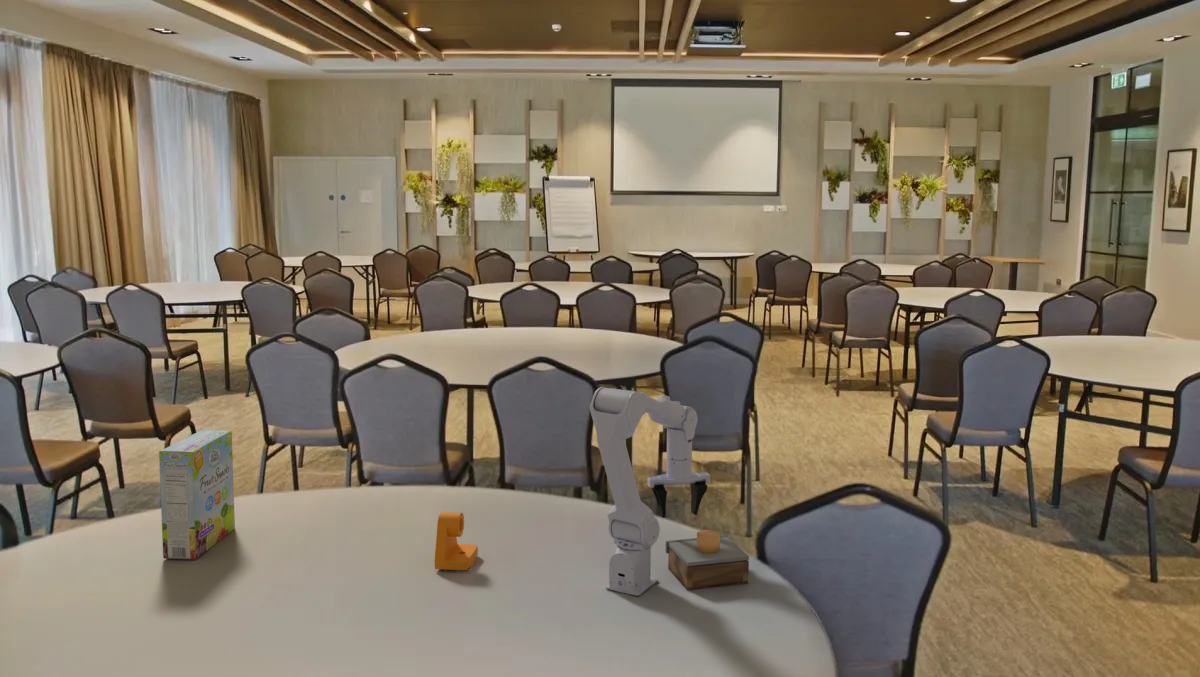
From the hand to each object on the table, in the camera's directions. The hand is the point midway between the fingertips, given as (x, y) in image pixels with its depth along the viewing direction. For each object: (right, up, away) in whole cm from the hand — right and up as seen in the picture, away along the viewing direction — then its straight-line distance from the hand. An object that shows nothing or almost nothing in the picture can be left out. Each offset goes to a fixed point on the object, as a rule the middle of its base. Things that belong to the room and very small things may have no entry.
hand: (678, 514), depth 209 cm
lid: (+5, -8, -9) cm, 13 cm away
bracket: (-50, -11, -2) cm, 52 cm away
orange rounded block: (+6, -6, -10) cm, 12 cm away
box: (+6, -12, -9) cm, 16 cm away
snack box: (-114, -9, +11) cm, 115 cm away
